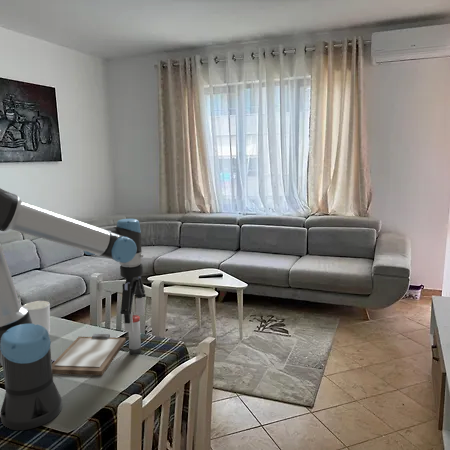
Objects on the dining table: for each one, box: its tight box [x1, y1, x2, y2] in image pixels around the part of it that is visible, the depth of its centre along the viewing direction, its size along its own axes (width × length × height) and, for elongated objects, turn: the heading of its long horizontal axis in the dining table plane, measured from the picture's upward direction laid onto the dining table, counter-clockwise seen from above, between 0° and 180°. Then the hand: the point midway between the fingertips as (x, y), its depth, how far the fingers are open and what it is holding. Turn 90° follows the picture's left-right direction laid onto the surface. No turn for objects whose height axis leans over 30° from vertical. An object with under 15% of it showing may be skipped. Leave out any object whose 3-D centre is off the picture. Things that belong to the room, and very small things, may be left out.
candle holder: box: [22, 300, 51, 335], centre depth 162 cm, size 10×10×12 cm
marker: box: [128, 314, 142, 356], centre depth 147 cm, size 4×4×13 cm
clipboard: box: [52, 333, 127, 376], centre depth 145 cm, size 18×24×3 cm
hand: (134, 322), depth 146 cm, fingers open, 13 cm apart
